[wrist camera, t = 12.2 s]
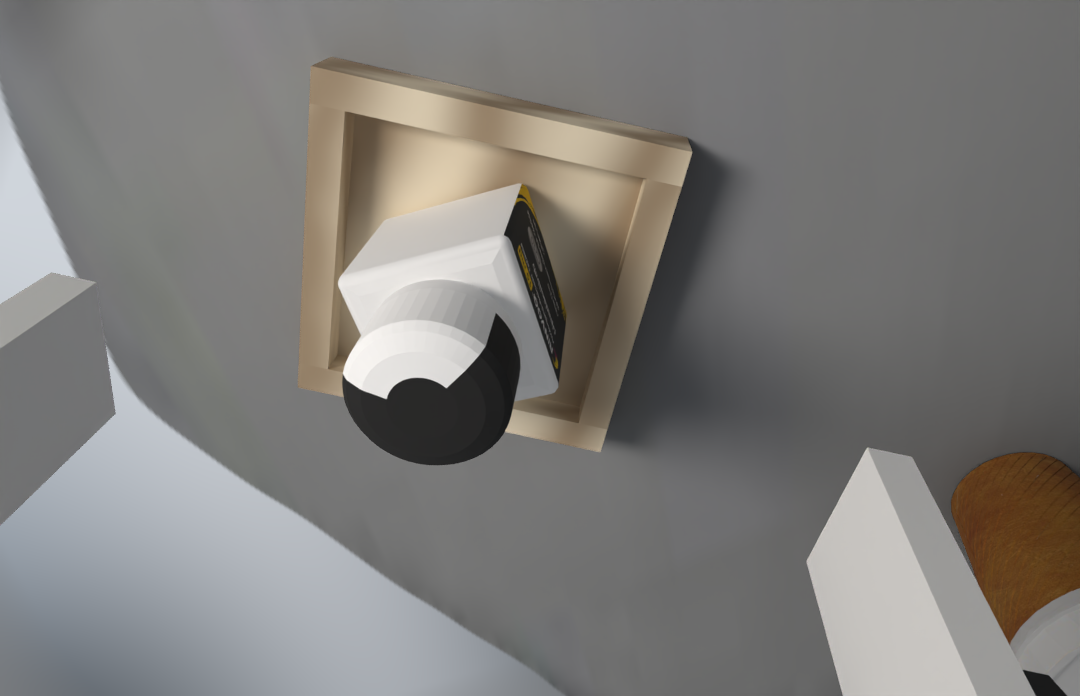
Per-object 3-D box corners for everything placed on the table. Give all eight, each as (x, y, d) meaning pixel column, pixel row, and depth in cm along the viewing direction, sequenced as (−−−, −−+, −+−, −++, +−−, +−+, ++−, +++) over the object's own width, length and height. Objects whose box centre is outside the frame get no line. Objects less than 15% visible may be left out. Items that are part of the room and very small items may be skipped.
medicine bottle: (569, 316, 36) (551, 471, 26) (435, 346, 38) (368, 504, 27) (526, 179, 33) (487, 293, 23) (381, 218, 35) (283, 341, 24)
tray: (687, 137, 33) (692, 152, 30) (601, 424, 41) (600, 452, 38) (331, 56, 32) (310, 65, 30) (314, 362, 40) (297, 387, 38)
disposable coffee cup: (893, 471, 41) (990, 658, 30) (1080, 398, 37) (1260, 579, 27) (953, 581, 44) (1058, 782, 34) (1128, 522, 41) (1304, 724, 30)
